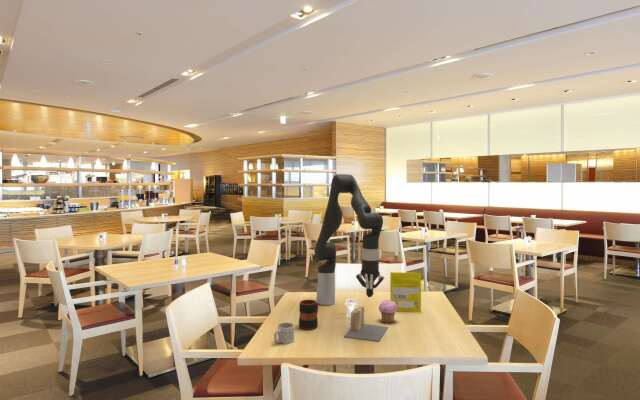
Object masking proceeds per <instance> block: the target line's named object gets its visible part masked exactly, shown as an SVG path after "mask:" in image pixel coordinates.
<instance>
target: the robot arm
mask: <svg viewBox="0 0 640 400" xmlns="http://www.w3.org/2000/svg"><path fill="white" fill-rule="evenodd" d="M339 194H351V200H350V205H351V208H352V209H353V211H354V213H355V214H356V216H357V220H358V225H359V227H360V228H361V229H363V230H371V231H370V232H369V233H367V234H363V236H362V248H361V249H362V251H361V270H360V273H358V274H356V275H355V278H356V279H357V281H358V282H359V284H360V285H361V287H363V288H365V289H366V290H365V292H366V293H365V294H366V296H367V298H372V297H373V295H374V289H376V288H377V287H378V286H379V285H380V284H381V283H382V282H383V281H384V280H385V276H382V275H381V272H380V252H379V251H380V250H379V241H380V235H381V233H382V228H383V225H384V218H383V216H382V215H381V213H379V212H372V207H371V205H370V204H369V203H368V201H367V200H366V199H365V198H364V195H363V194H362V191H361V189H360V186H359V184H358V182H357V180H356V177H354V176H353V175H352V174H345V173H343V174H341V173H340V174H339V173H338V174H334V175H333V177H332V179H331V184H330V189H329V194H328V196H329V197H328V202H327V205H326V209H325V212H324V216H323V221H322V225H321V230H320V233H319V235H318V238H317V240H316V243H315V247H314V257H315V259H317V260H318V261H323V260H324V261H325V262H324V263H322V264H320V265H319V266H318V267H317V285H316V302H317V303H318V305H321V306H331V305H334V304H335V303H336V271H335V270H336V266H337V265H336V264H337V263H336V262H337V261H336V260H337V259H336V258H337V247H336V244H335V243H334V242H332V241H329V239H330V238H331V237H332V236H333V235H334V234H335V233H337V231H338V230H339V229H340V227H341V224H342V220H343V211H342V208H341V205H340V204H339ZM377 279H378V280H377ZM376 280H377V282H376V283H375V281H376Z"/></svg>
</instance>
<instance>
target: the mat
mask: <svg viewBox="0 0 640 400" xmlns="http://www.w3.org/2000/svg"><path fill="white" fill-rule="evenodd" d="M388 329H389V326H384V325H378V324H377V325H376V324H369V323H368V324H367V323H364V324H363V326H362V327H361V328H360V329H359V330H358V331H355V330H351V328H350V329H349V330H348V331H347V332H346V333H345V334H344V335H343V337H344V338H347V339H354V340H362V341H370V342H377V343H379V342H380V341H381V340H382V337H383V336H384V335H385V334H386V332H387V330H388Z"/></svg>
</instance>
